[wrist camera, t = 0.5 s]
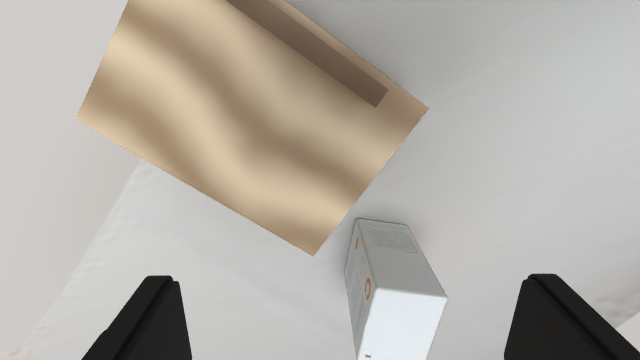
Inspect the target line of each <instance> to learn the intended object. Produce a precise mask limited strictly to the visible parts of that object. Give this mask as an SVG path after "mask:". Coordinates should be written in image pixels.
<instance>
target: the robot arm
mask: <svg viewBox="0 0 640 360" xmlns="http://www.w3.org/2000/svg"><path fill="white" fill-rule="evenodd" d="M82 360H192V354H191V348H190V342H189V336H188V331H187V325H186V319H185V314H184V308H183V302H182V296H181V291H180V285H179V283H178V281H173V278H172V277H171V276H147V277H146V278H145V279H144V280H143V282H142V283H141V284H140V286H139V287H138V288H137V290H136V291H135V292H134V294H133V295H132V296H131V298H130V299H129V301H128V302H127V303H126V305H125V306H124V307H123V309H122V310H121V311H120V313H119V314H118V315H117V317H116V318H115V319H114V321H113V322H112V323H111V325H110V326H109V327H108V329H107V330H105V331H104V332H103V333H102V334H101V335H100V336H99V337H98V338H97V340H96V341H95V342H94V344H93V345H92V346H91V348H90V349H89V350H88V352H87V353H86V354H85V356H84V357H83V358H82ZM504 360H640V352H639V351H638V350H637V349H635V348H634V347H633V346H632V345H631V344H630V343H629V342H628V341H627V340H626V339H625V338H624V337H623V336H621V334H619V333H618V332H617V331H616V330H615V329H614V328H613V327H612V326H611V325H610V324H609V323H608V322H607V321H606V320H605V319H604V318H602V317H601V316H600V315H599V314H598V313H597V312H596V311H595V310H594V309H593V308H592V307H591V306H590V305H589V304H588V303H586V302H585V301H584V300H583V299H582V298H581V297H580V296H579V295H578V294H577V293H576V292H575V291H574V290H573V289H572V288H571V287H569V286H568V285H567V284H566V283H565V282H564V281H563V280H562V279H561V278H560V277H559V276H557V275H556V274H531V275H529V276H528V278H527V279H526V280H524V281H523V282H522V285H521V289H520V293H519V296H518V300H517V304H516V308H515V312H514V316H513V320H512V324H511V328H510V332H509V336H508V340H507V344H506V348H505V352H504Z"/></svg>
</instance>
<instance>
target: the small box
mask: <svg viewBox="0 0 640 360" xmlns="http://www.w3.org/2000/svg"><path fill="white" fill-rule="evenodd" d="M344 276H345V282H346V289H347V295H348V301H349V309H350V316H351V323H352V330H353V337H354V344H355V351H356V358H357V360H427V357H428V354H429V351H430V348H431V345H432V343H433V340H434V337H435V334H436V331H437V328H438V325H439V323H440V320H441V317H442V314H443V311H444V308H445V305H446V302H447V300H448V297H447V295H446V294H445V292H444V290H443V288H442V286H441V285H440V283H439V281H438V279H437V277H436V276H435V274H434V272H433V270H432V269H431V267H430V265H429V263H428V261H427V260H426V258H425V256H424V254H423V252H422V251H421V249H420V247H419V245H418V243H417V242H416V240H415V238H414V236H413V235H412V233H411V231H410V229H409V227H408V226H407V225H402V224H395V223H387V222H380V221H373V220H366V219H358V218H357V219H356V222H355V227H354V231H353V235H352V240H351V244H350V249H349V254H348V258H347V263H346V268H345V273H344Z"/></svg>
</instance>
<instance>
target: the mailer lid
mask: <svg viewBox="0 0 640 360" xmlns="http://www.w3.org/2000/svg"><path fill="white" fill-rule="evenodd" d="M428 109H429V108H428V107H427V106H425V105H424V104H423V103H421V102H420V101H419V100H417V99H416V98H415V97H413V96H412V95H411V94H409V93H408V92H407V91H405V90H404V89H403V88H401V87H400V86H399V85H397V84H396V83H395V82H393V81H392V80H391V79H389V78H388V77H387V76H385V75H384V74H383V73H381V72H380V71H379V70H377V69H376V68H375V67H373V66H372V65H371V64H369V63H368V62H366V61H365V60H364V59H362V58H361V57H360V56H358V55H357V54H356V53H354V52H353V51H352V50H350V49H349V48H348V47H346V46H345V45H344V44H342V43H341V42H340V41H338V40H337V39H336V38H334V37H333V36H332V35H330V34H329V33H328V32H326V31H325V30H324V29H322V28H321V27H320V26H318V25H317V24H316V23H314V22H313V21H312V20H310V19H309V18H308V17H306V16H305V15H304V14H302V13H301V12H300V11H298V10H297V9H296V8H294V7H293V6H292V5H290V4H289V3H288V2H286V1H285V0H128V2H127V5H126V7H125V9H124V11H123V14H122V16H121V18H120V20H119V23H118V25H117V27H116V30H115V32H114V34H113V36H112V39H111V41H110V43H109V45H108V48H107V50H106V52H105V54H104V57H103V59H102V61H101V63H100V66H99V68H98V70H97V72H96V75H95V77H94V79H93V81H92V84H91V86H90V88H89V90H88V93H87V95H86V97H85V99H84V102H83V104H82V106H81V109H80V111H79V114H78V115H77V118H76V120H77V121H79V122H81V123H82V124H84V125H86V126H88V127H89V128H91V129H93V130H95V131H96V132H98V133H100V134H101V135H103V136H105V137H107V138H108V139H110V140H112V141H114V142H116V143H117V144H119V145H121V146H122V147H124V148H126V149H128V150H129V151H131V152H133V153H135V154H136V155H138V156H140V157H141V158H143V159H145V160H147V161H148V162H150V163H152V164H154V165H155V166H157V167H159V168H161V169H162V170H164V171H166V172H167V173H169V174H171V175H173V176H174V177H176V178H178V179H180V180H181V181H183V182H185V183H187V184H188V185H190V186H192V187H194V188H195V189H197V190H199V191H200V192H202V193H204V194H206V195H207V196H209V197H211V198H213V199H214V200H216V201H218V202H220V203H221V204H223V205H225V206H227V207H228V208H230V209H232V210H233V211H235V212H237V213H239V214H240V215H242V216H244V217H246V218H247V219H249V220H251V221H253V222H254V223H256V224H258V225H260V226H261V227H263V228H265V229H266V230H268V231H270V232H272V233H273V234H275V235H277V236H279V237H280V238H282V239H284V240H286V241H287V242H289V243H291V244H293V245H294V246H296V247H298V248H299V249H301V250H303V251H305V252H306V253H308V254H310V255H312V256H314V255H315V253H316V252H317V251H318V250H319V248H320V247H321V246H322V244H323V243H324V242H325V241H326V239H327V238H328V237H329V236H330V234H331V233H332V232H333V230H334V229H335V228H336V227H337V225H338V224H339V223H340V221H341V220H342V219H343V218H344V216H345V215H346V214H347V212H348V211H349V210H350V209H351V207H352V206H353V205H354V204H355V202H356V201H357V200H358V198H359V197H360V196H361V195H362V193H363V192H364V191H365V189H366V188H367V187H368V186H369V184H370V183H371V182H372V180H373V179H374V178H375V177H376V175H377V174H378V173H379V171H380V170H381V169H382V168H383V166H384V165H385V164H386V163H387V161H388V160H389V159H390V157H391V156H392V155H393V154H394V152H395V151H396V150H397V148H398V147H399V146H400V145H401V143H402V142H403V141H404V139H405V138H406V137H407V136H408V134H409V133H410V132H411V130H412V129H413V128H414V127H415V125H416V124H417V123H418V122H419V120H420V119H421V118H422V116H423V115H424V114H425V113H426V111H427V110H428Z"/></svg>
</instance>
